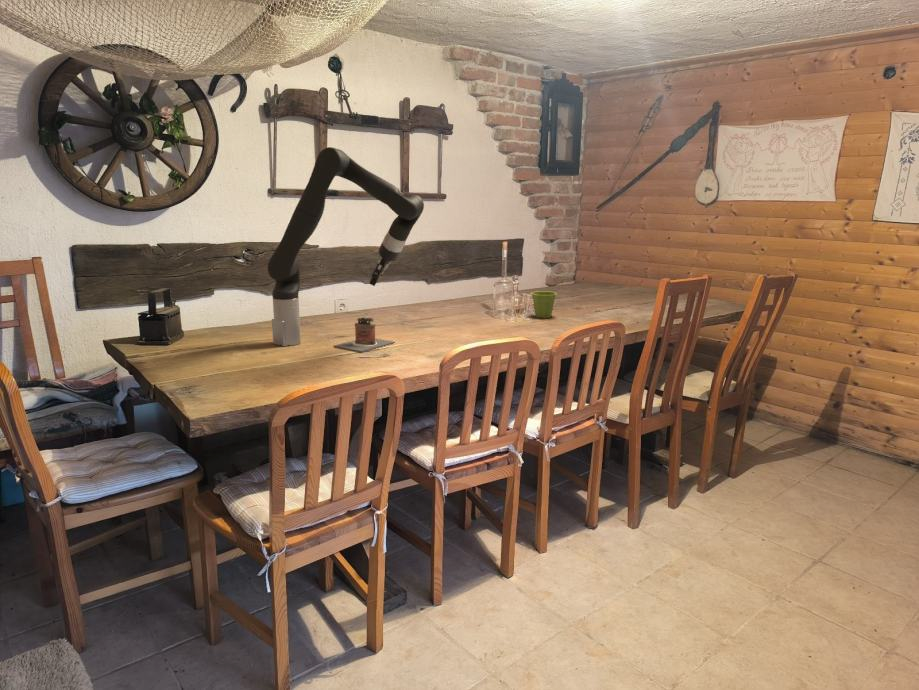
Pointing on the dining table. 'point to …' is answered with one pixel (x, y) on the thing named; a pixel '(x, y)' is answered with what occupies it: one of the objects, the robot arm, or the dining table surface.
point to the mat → (363, 348)
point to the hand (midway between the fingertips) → (375, 279)
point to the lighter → (365, 331)
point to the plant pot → (543, 303)
